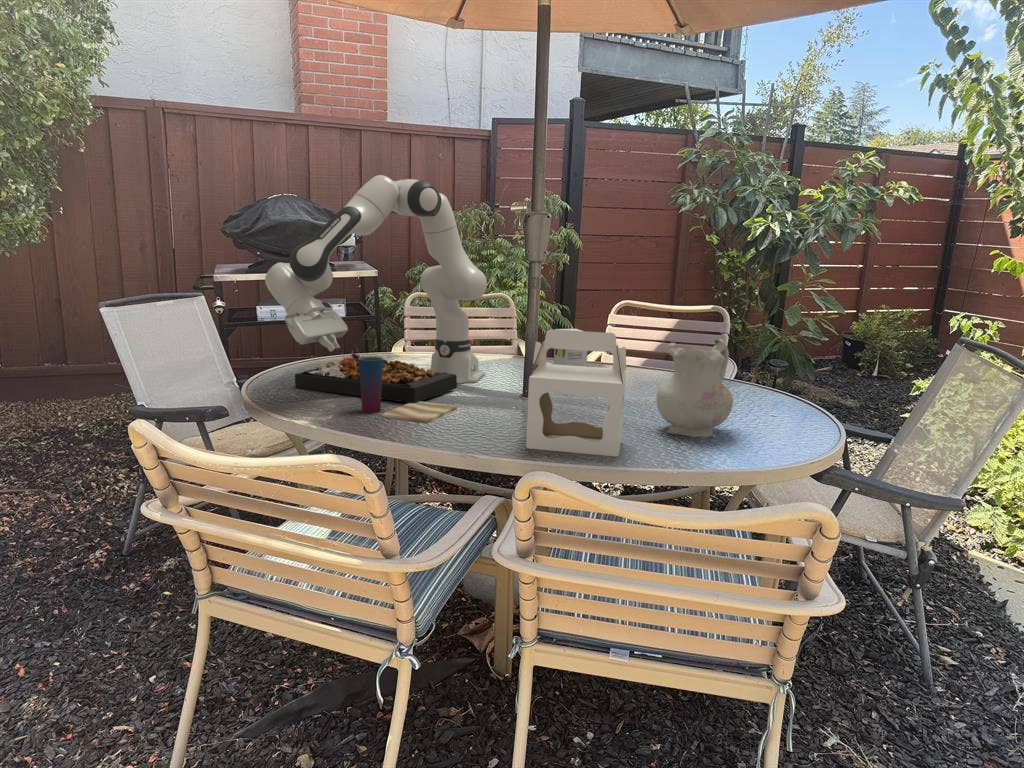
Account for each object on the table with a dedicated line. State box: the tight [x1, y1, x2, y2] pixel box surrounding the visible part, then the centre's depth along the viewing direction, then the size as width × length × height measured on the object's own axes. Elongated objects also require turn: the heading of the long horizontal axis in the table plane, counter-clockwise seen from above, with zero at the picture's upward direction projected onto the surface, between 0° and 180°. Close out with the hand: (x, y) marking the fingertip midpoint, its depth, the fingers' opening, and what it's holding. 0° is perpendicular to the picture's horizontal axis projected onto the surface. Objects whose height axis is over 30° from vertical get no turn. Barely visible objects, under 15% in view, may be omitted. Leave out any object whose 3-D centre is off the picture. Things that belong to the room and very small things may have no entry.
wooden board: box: [381, 401, 458, 424], centre depth 195 cm, size 18×14×1 cm
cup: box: [358, 355, 384, 414], centre depth 194 cm, size 7×7×15 cm
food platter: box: [294, 348, 458, 403], centre depth 222 cm, size 45×25×10 cm, turn 65°
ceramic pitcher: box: [656, 337, 734, 439], centre depth 183 cm, size 22×20×25 cm
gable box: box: [525, 329, 627, 458], centre depth 167 cm, size 22×13×28 cm, turn 78°
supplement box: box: [553, 328, 589, 367], centre depth 255 cm, size 10×9×17 cm
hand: (335, 349), depth 196 cm, fingers closed
